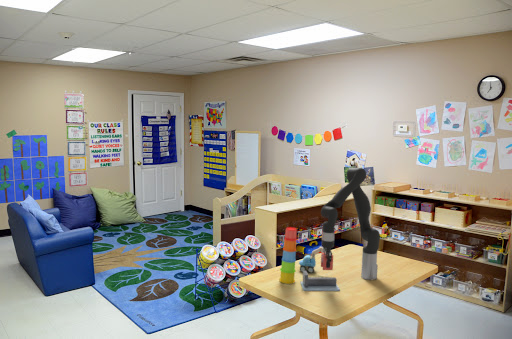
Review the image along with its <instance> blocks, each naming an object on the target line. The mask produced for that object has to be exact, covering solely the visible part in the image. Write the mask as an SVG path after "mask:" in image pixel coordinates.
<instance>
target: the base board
mask: <svg viewBox="0 0 512 339" xmlns="http://www.w3.org/2000/svg"><path fill="white" fill-rule="evenodd" d="M299 283H300V286H301V289H302V291H304V292H310V291H311V292H315V291H316V292H323V291H324V292H326V291H327V292H328V291H329V292H334V291H335V292H340V291H341V290H340V286H338V285H337V283H336V286H308V288H306V287H304V285H303V281H300V282H299Z"/></svg>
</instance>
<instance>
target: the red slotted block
mask: <svg viewBox="0 0 512 339" xmlns="http://www.w3.org/2000/svg"><path fill="white" fill-rule="evenodd" d="M320 253H321V252H320ZM320 255H321V257H320V258H321V259H320V267H321V268H322V270H323V271H334V268H333V267H334V255H333V254H332V261H331V262H330V268H327V267H326V255H325V253H321V254H320ZM328 260H330V258H329V259H328Z"/></svg>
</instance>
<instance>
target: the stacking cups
mask: <svg viewBox="0 0 512 339" xmlns="http://www.w3.org/2000/svg"><path fill="white" fill-rule="evenodd" d="M284 232H285V233H284V235H285V236H284V238H283V239H284V242H283V243H284V244H283V248H282V250H283V251H282V258H281V268H279V270H280V274H279V275H280V277H279V279H278V280H279V282H280V283H282V284H286V285H292V284H295V282H296V279H295V275H296V274H295V273H296V262H297V260H296V254H297V240H298V239H297V233H298V229H297V228H296V227H293V226H287V227H286V228H285V231H284Z"/></svg>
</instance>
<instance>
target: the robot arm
mask: <svg viewBox="0 0 512 339" xmlns="http://www.w3.org/2000/svg"><path fill="white" fill-rule="evenodd" d="M346 170H347V171H346V179H347V182H348V183H347V184H346V185H344V186H343V187H341V188H340V189H339V190H338V191H337V192H336V193H335V194H334V195H333V197H332V199H331V200H329V201H328V202H326V203H325V204H324V205H322V208H321V210H320V215H321V217H322V218H326V219H327V221H324V222H323V223H322V233H321V247H323V253H325V255H326V267H327V268H330V262H331V261H332V255H333V252H332V249H333V248H334V247H335V225H336V222H337V219H338V216H339V212H338V208H341V207H342V206H343V205H344V203H345V202H346V200H347V199H348V198H349V196H350V195H351V194H352V198H353V202H354V206H355V211H356V214H357V218H358V223H359V232H360V236H361V238H362V239H363V240H364V241H365V242H366V243H367V244H366V245H365V246H363V247H362V256H361V274H360V275H361V278H362V279H363V280H369V281H373V280H378V263H377V262H378V250H379V247H380V239H381V238H380V232H379V230H377V229H375V228H373V227H371V224H370V215H371V211H372V208H371V207H372V206H371V204H370V203H371V202H370V199H369V197H368V196H367V194H366V193H365V191H364V190H363V189H362V187H361V184H362V183H364V181H365V179H366V178H367V171H366V170H365V169H364V168H363V167H349V168H348V169H346ZM329 258H330V260H328V259H329Z"/></svg>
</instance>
